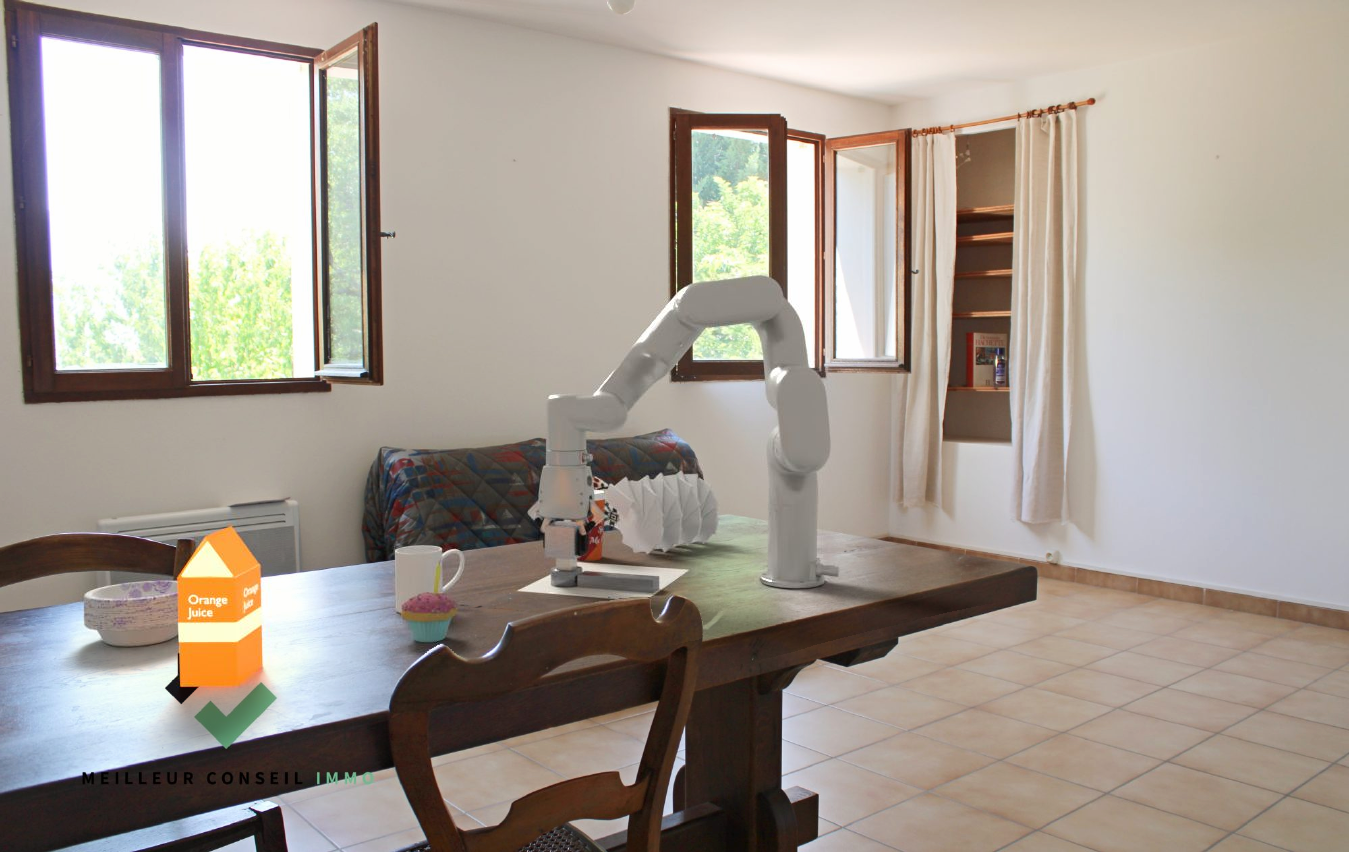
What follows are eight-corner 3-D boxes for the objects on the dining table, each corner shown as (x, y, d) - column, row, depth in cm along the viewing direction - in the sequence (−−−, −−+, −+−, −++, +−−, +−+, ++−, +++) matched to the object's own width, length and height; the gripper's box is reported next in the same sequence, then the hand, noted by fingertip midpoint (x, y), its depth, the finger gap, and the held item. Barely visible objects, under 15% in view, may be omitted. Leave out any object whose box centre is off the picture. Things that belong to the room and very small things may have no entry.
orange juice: (263, 666, 141) (260, 525, 140) (238, 686, 132) (235, 536, 131) (207, 666, 141) (203, 525, 139) (178, 686, 132) (174, 536, 131)
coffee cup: (604, 564, 212) (604, 494, 211) (566, 564, 212) (565, 494, 211) (608, 556, 220) (608, 489, 219) (571, 556, 220) (570, 488, 219)
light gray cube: (586, 553, 192) (586, 522, 192) (574, 559, 186) (574, 527, 186) (557, 551, 194) (557, 521, 193) (544, 557, 188) (544, 525, 188)
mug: (404, 617, 168) (403, 555, 167) (389, 607, 174) (388, 548, 173) (473, 607, 174) (472, 548, 174) (455, 598, 181) (455, 541, 180)
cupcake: (435, 628, 161) (434, 554, 160) (469, 637, 156) (468, 561, 155) (390, 639, 154) (388, 562, 154) (423, 649, 149) (422, 570, 148)
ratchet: (545, 586, 188) (545, 549, 188) (558, 579, 194) (558, 544, 194) (651, 594, 182) (651, 556, 182) (661, 587, 188) (661, 550, 187)
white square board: (689, 572, 204) (689, 569, 204) (644, 604, 177) (644, 601, 177) (576, 564, 211) (576, 561, 211) (516, 594, 185) (516, 590, 185)
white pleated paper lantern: (713, 561, 236) (639, 572, 217) (664, 521, 246) (590, 528, 228) (742, 494, 230) (669, 500, 211) (691, 457, 240) (617, 459, 222)
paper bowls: (180, 621, 165) (179, 573, 164) (209, 640, 154) (208, 589, 153) (74, 637, 155) (73, 587, 154) (97, 659, 144) (95, 605, 143)
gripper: (615, 459, 190) (615, 553, 191) (533, 455, 195) (533, 547, 196) (601, 462, 183) (600, 560, 184) (515, 459, 188) (515, 554, 189)
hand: (565, 552), depth 190 cm, fingers closed on light gray cube, 6 cm apart
